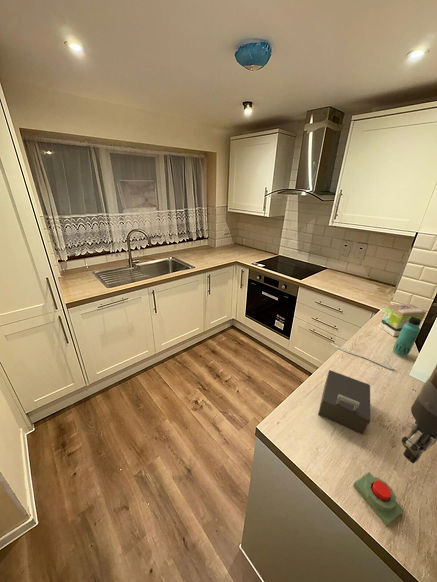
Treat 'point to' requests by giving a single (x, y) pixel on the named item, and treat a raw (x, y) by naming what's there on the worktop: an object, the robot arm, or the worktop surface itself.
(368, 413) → the sandwich lid
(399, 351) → the beverage bottle
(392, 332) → the tea box
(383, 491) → the button
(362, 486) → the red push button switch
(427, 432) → the robot arm
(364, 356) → the butter knife
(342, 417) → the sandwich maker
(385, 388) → the worktop surface
